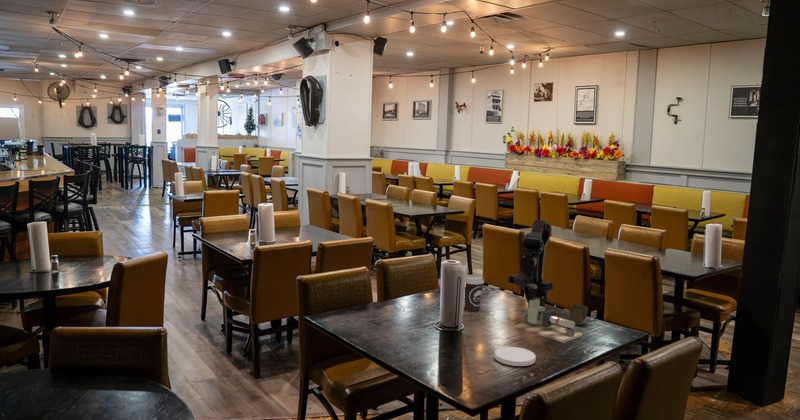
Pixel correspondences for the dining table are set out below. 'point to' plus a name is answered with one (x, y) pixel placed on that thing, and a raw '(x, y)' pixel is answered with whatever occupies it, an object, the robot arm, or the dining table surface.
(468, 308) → the coffee cup
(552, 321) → the steel pipe
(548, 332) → the base board
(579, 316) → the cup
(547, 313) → the rubber collar
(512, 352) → the plastic lid
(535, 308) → the sleeve
